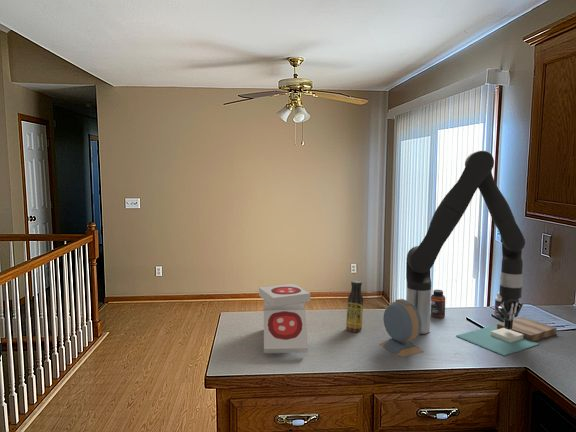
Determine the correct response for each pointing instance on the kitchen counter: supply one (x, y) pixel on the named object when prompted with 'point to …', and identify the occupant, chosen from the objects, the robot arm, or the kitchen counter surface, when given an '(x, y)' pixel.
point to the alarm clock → (402, 328)
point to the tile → (507, 335)
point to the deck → (530, 329)
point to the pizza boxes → (285, 318)
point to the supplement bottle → (438, 304)
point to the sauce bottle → (355, 308)
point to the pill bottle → (497, 303)
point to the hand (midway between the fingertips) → (508, 328)
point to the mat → (495, 341)
